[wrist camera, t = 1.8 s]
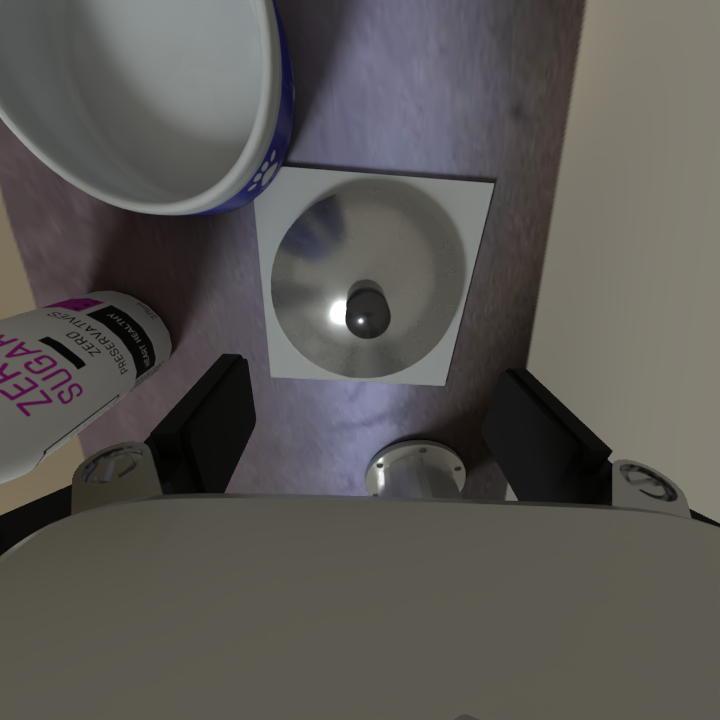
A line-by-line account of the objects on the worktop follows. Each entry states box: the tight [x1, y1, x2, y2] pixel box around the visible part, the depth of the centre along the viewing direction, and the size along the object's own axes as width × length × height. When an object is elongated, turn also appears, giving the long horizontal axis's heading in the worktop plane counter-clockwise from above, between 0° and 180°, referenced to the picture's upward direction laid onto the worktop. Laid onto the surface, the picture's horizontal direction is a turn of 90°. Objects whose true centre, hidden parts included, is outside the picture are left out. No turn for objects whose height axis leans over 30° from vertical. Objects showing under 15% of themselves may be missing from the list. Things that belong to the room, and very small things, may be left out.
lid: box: [271, 189, 460, 378], centre depth 22 cm, size 16×16×6 cm
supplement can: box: [0, 291, 172, 484], centre depth 20 cm, size 8×8×15 cm
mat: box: [254, 167, 494, 386], centre depth 25 cm, size 18×18×1 cm
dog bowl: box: [0, 0, 295, 215], centre depth 15 cm, size 15×15×6 cm
